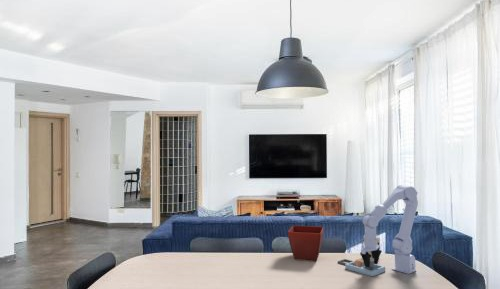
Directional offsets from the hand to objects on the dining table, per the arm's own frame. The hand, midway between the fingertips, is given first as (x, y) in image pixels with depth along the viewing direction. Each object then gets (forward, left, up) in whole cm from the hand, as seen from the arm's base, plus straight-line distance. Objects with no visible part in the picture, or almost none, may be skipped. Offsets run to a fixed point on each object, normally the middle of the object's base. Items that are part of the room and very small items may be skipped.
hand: (371, 265), depth 180 cm
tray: (+4, 0, -3) cm, 5 cm away
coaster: (+17, -2, -3) cm, 18 cm away
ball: (+8, 0, -1) cm, 8 cm away
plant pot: (+39, +6, -4) cm, 40 cm away
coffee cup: (+15, -25, -3) cm, 29 cm away
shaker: (+1, 0, -3) cm, 3 cm away
